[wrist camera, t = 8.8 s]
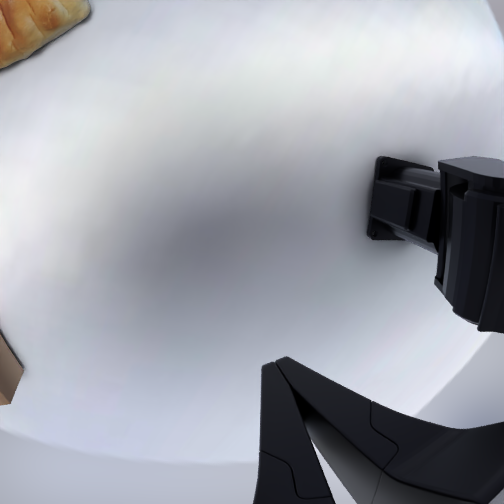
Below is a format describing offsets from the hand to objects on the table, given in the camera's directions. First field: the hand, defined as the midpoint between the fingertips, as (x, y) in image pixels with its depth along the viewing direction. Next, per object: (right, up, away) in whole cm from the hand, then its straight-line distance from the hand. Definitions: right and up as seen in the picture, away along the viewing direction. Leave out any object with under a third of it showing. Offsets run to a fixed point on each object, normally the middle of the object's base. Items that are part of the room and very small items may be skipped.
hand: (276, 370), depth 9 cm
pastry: (-15, +19, +3) cm, 24 cm away
